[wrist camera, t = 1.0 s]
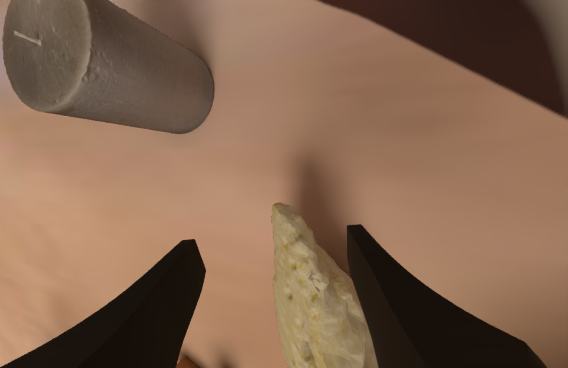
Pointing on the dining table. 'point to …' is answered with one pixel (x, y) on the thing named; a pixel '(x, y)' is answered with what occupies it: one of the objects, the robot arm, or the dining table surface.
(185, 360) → the brown piece
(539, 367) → the robot arm
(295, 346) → the cheese
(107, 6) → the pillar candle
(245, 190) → the dining table surface
